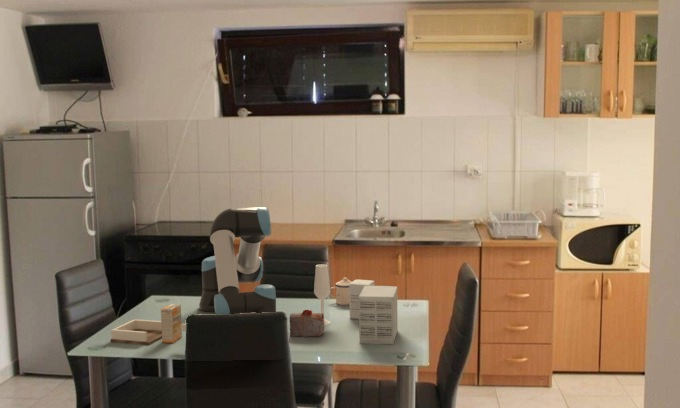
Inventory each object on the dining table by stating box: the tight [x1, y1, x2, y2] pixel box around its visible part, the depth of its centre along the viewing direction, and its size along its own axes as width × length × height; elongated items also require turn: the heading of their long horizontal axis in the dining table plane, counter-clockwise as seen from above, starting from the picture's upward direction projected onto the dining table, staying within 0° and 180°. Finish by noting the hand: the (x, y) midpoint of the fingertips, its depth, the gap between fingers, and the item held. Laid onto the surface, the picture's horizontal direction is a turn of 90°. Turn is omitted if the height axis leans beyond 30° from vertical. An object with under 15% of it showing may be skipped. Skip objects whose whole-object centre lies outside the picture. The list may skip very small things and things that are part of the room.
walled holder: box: [110, 318, 162, 346], centre depth 269 cm, size 17×16×4 cm
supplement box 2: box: [348, 279, 376, 320], centre depth 292 cm, size 9×9×15 cm
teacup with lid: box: [329, 277, 353, 306], centre depth 315 cm, size 12×9×12 cm
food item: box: [289, 309, 325, 338], centre depth 268 cm, size 14×8×10 cm, turn 88°
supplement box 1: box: [160, 303, 183, 344], centre depth 264 cm, size 8×5×13 cm, turn 168°
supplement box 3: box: [358, 285, 398, 345], centre depth 263 cm, size 17×13×18 cm
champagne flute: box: [313, 263, 331, 326], centre depth 283 cm, size 7×7×24 cm
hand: (190, 322), depth 262 cm, fingers open, 13 cm apart
